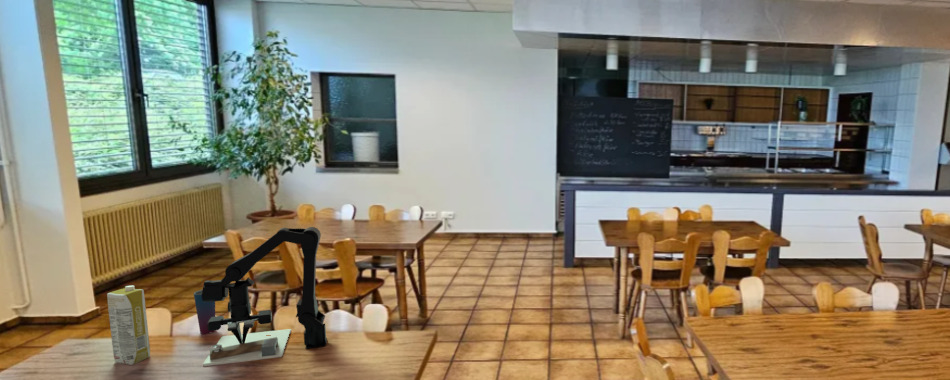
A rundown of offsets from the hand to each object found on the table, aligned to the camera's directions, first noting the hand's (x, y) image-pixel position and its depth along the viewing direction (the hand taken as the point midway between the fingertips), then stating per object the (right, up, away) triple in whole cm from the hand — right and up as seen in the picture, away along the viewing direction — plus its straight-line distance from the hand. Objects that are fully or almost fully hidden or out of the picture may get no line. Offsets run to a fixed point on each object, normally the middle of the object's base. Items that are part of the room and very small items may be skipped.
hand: (242, 344), depth 163 cm
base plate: (+1, -2, +3) cm, 4 cm away
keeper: (+10, -2, -3) cm, 11 cm away
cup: (-21, -1, +18) cm, 28 cm away
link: (+2, -1, -2) cm, 3 cm away
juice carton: (-34, -4, -4) cm, 34 cm away
